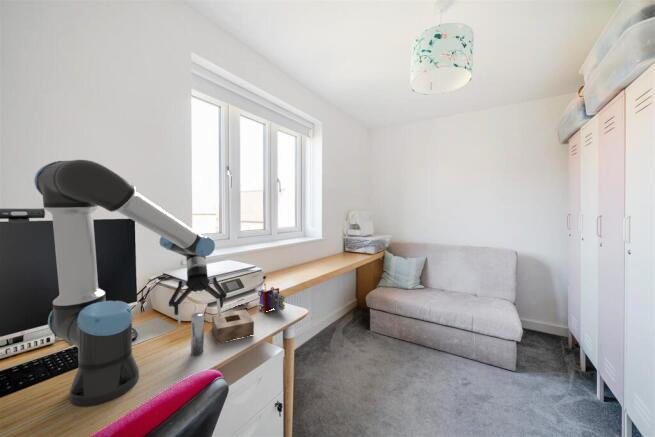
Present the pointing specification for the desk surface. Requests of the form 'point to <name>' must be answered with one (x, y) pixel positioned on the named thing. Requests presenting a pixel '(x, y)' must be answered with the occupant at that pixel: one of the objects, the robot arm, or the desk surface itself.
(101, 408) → the desk surface
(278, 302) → the robot toy
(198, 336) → the steel pin
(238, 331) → the walnut socket block
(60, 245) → the robot arm
